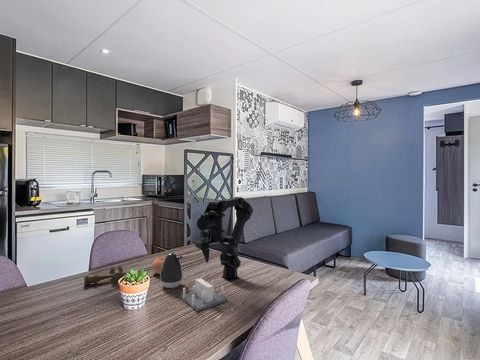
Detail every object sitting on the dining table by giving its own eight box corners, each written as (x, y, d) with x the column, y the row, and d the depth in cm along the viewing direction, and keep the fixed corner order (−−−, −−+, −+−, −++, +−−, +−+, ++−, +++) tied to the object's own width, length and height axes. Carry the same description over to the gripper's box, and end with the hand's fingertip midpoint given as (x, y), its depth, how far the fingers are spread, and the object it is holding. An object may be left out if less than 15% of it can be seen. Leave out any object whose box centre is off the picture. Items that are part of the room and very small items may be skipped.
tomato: (155, 278, 131) (156, 262, 131) (148, 272, 139) (148, 256, 139) (176, 273, 138) (176, 258, 137) (167, 267, 146) (168, 253, 146)
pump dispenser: (177, 291, 117) (177, 257, 116) (155, 289, 119) (156, 255, 118) (186, 282, 127) (187, 251, 126) (166, 280, 129) (166, 249, 128)
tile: (200, 291, 115) (200, 278, 115) (212, 300, 107) (213, 286, 107) (195, 293, 113) (195, 279, 113) (207, 302, 105) (207, 287, 105)
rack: (209, 288, 120) (209, 277, 120) (227, 300, 109) (228, 288, 109) (179, 297, 111) (179, 286, 111) (196, 311, 100) (196, 298, 100)
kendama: (84, 282, 125) (130, 274, 135) (84, 291, 117) (132, 282, 127) (84, 270, 125) (129, 263, 135) (83, 278, 117) (132, 269, 126)
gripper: (222, 222, 135) (222, 253, 135) (189, 226, 123) (189, 259, 123) (236, 226, 126) (235, 258, 127) (202, 230, 114) (201, 266, 115)
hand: (215, 260), depth 123 cm, fingers open, 9 cm apart
